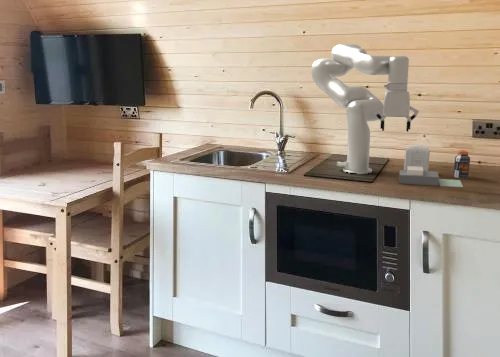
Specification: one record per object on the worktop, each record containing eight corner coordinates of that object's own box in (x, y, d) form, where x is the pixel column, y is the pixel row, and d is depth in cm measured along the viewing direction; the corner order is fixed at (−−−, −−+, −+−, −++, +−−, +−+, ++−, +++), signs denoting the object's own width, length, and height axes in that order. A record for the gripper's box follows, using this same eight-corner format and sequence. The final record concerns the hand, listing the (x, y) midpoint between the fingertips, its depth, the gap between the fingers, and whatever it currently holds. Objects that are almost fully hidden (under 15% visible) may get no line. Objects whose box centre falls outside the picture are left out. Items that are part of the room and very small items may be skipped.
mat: (439, 186, 208) (439, 185, 208) (438, 179, 219) (438, 178, 219) (462, 187, 206) (463, 186, 206) (459, 180, 217) (460, 180, 217)
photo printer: (428, 172, 233) (430, 144, 231) (427, 174, 230) (429, 146, 227) (404, 170, 237) (406, 143, 235) (403, 172, 233) (405, 144, 231)
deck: (398, 183, 213) (399, 175, 212) (399, 177, 223) (399, 169, 222) (438, 185, 209) (439, 177, 208) (436, 179, 219) (437, 171, 218)
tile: (407, 174, 213) (407, 169, 212) (407, 170, 220) (407, 166, 220) (422, 175, 211) (423, 170, 211) (422, 171, 218) (422, 166, 218)
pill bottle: (458, 179, 220) (460, 152, 218) (450, 176, 226) (452, 149, 224) (471, 178, 222) (473, 151, 219) (463, 175, 227) (465, 149, 225)
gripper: (374, 88, 209) (372, 131, 213) (420, 88, 205) (417, 132, 209) (375, 87, 216) (373, 129, 220) (419, 87, 212) (417, 130, 216)
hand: (395, 130), depth 214 cm, fingers open, 9 cm apart
